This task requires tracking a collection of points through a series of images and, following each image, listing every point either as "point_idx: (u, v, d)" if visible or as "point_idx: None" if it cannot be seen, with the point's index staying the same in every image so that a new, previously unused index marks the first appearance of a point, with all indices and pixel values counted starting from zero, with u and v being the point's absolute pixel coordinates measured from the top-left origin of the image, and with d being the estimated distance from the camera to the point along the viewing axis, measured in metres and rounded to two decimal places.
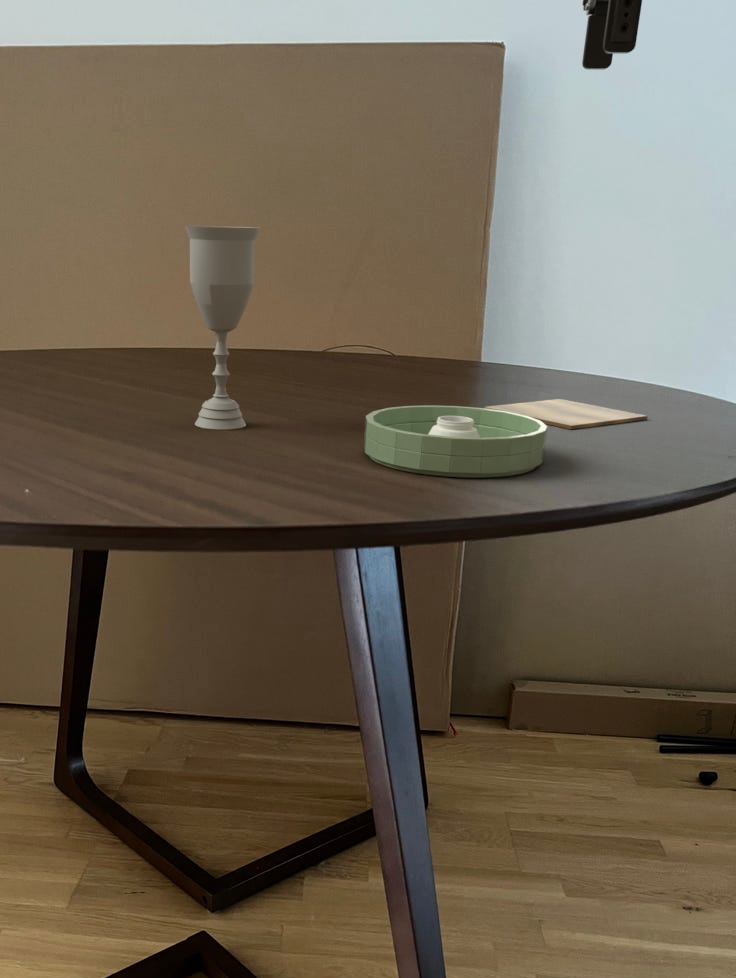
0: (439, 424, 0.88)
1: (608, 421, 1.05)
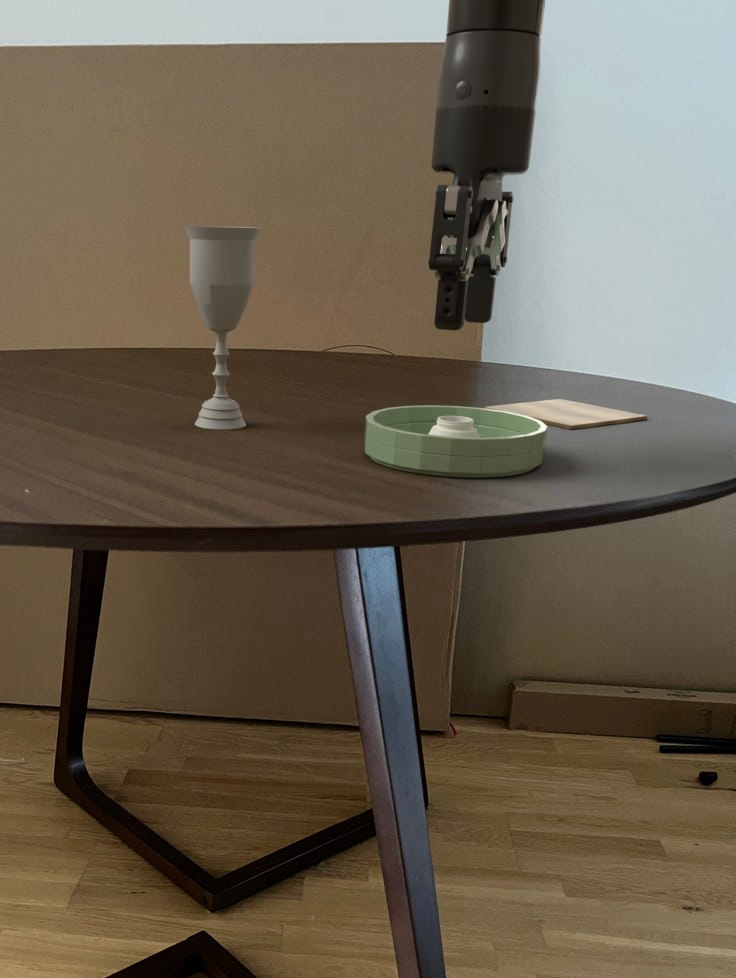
0: (439, 424, 0.88)
1: (608, 421, 1.05)
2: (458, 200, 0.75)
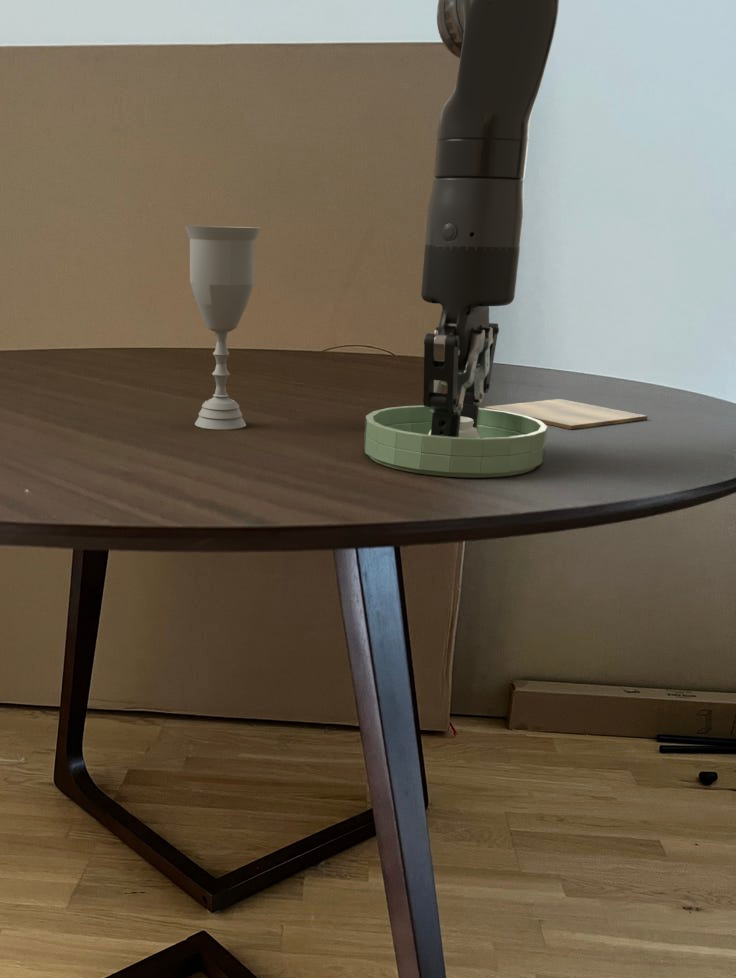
0: None
1: (608, 421, 1.05)
2: (445, 351, 0.80)
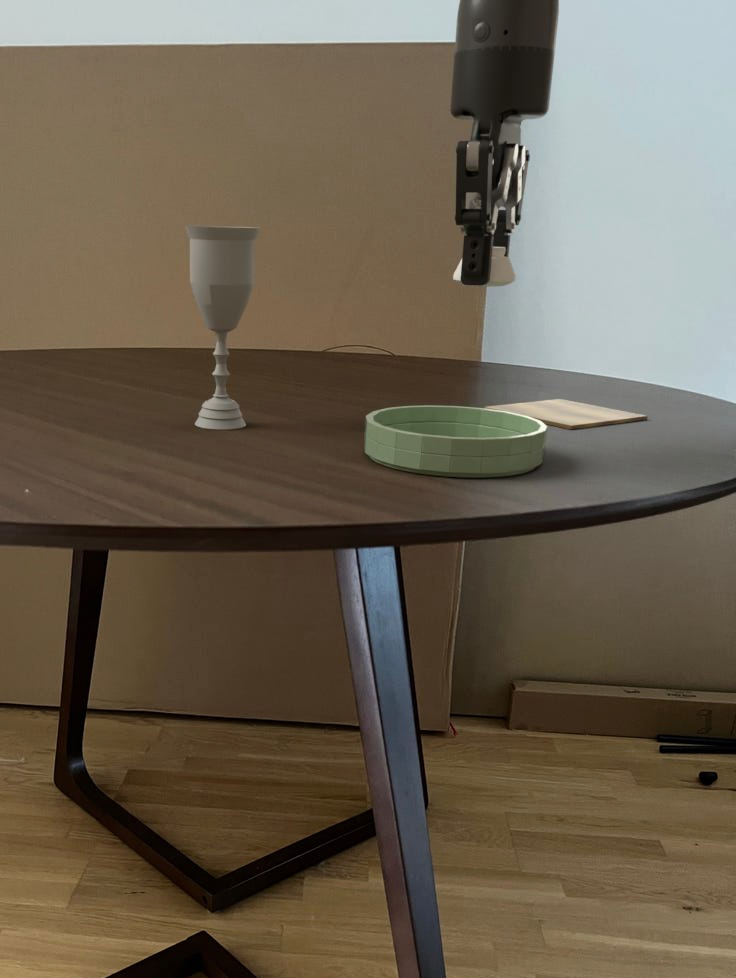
0: None
1: (608, 421, 1.05)
2: (479, 158, 0.76)
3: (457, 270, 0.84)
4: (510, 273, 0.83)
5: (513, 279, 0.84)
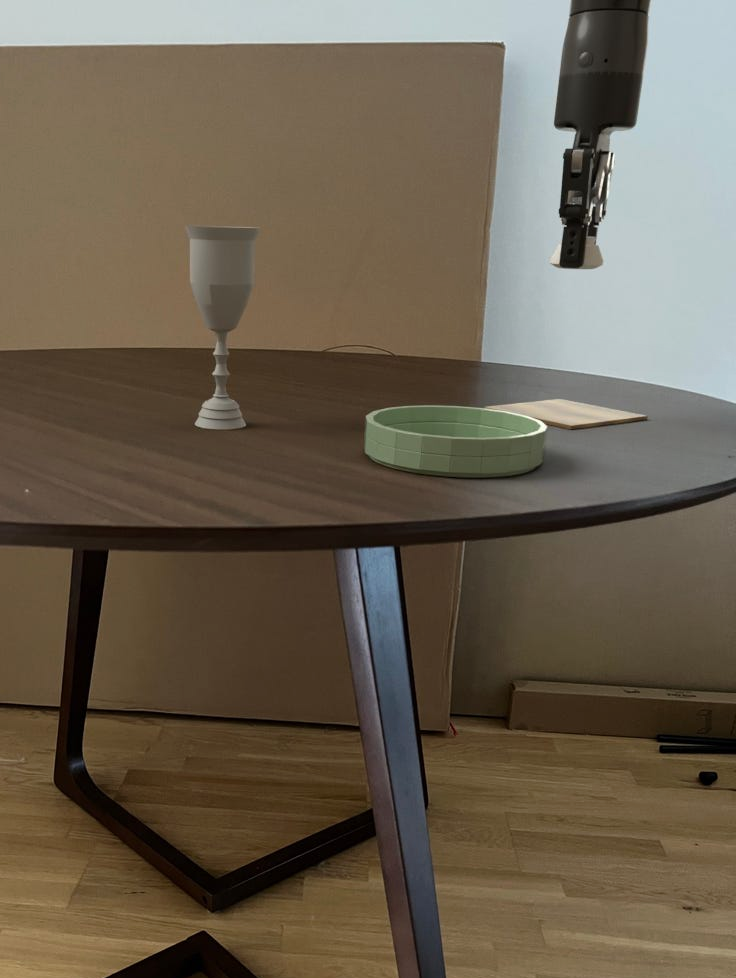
0: None
1: (608, 421, 1.05)
2: (583, 162, 0.93)
3: (554, 255, 1.01)
4: (600, 258, 1.00)
5: (601, 263, 1.01)
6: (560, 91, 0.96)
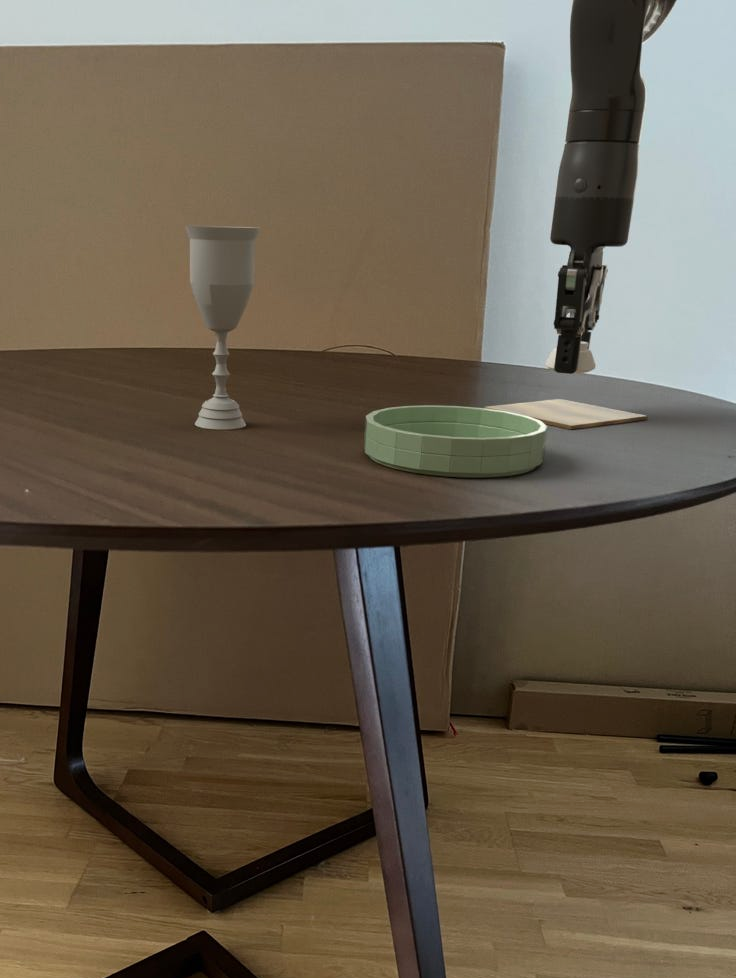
0: None
1: (608, 421, 1.05)
2: (576, 281, 0.99)
3: (550, 359, 1.08)
4: (592, 363, 1.07)
5: (594, 368, 1.07)
6: (556, 211, 1.02)
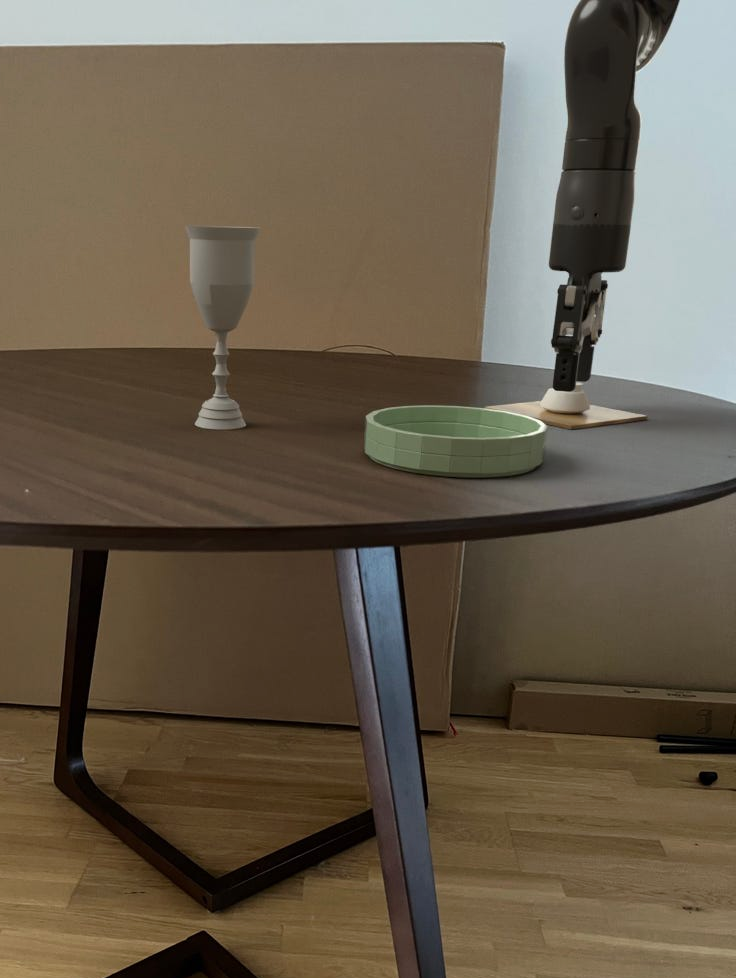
0: None
1: (608, 421, 1.05)
2: (575, 296, 1.00)
3: (544, 400, 1.09)
4: (586, 404, 1.08)
5: (588, 408, 1.09)
6: (554, 238, 1.03)
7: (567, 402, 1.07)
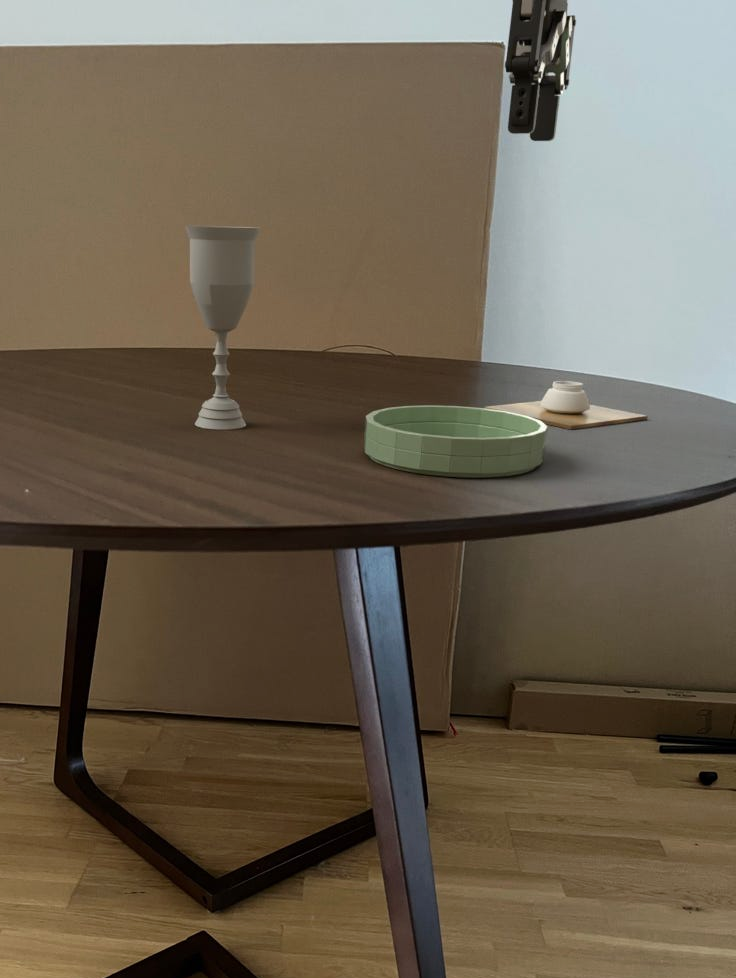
0: (555, 387, 1.09)
1: (608, 421, 1.05)
2: (534, 2, 0.83)
3: (544, 400, 1.09)
4: (586, 404, 1.08)
5: (588, 408, 1.09)
6: None
7: (567, 402, 1.07)
